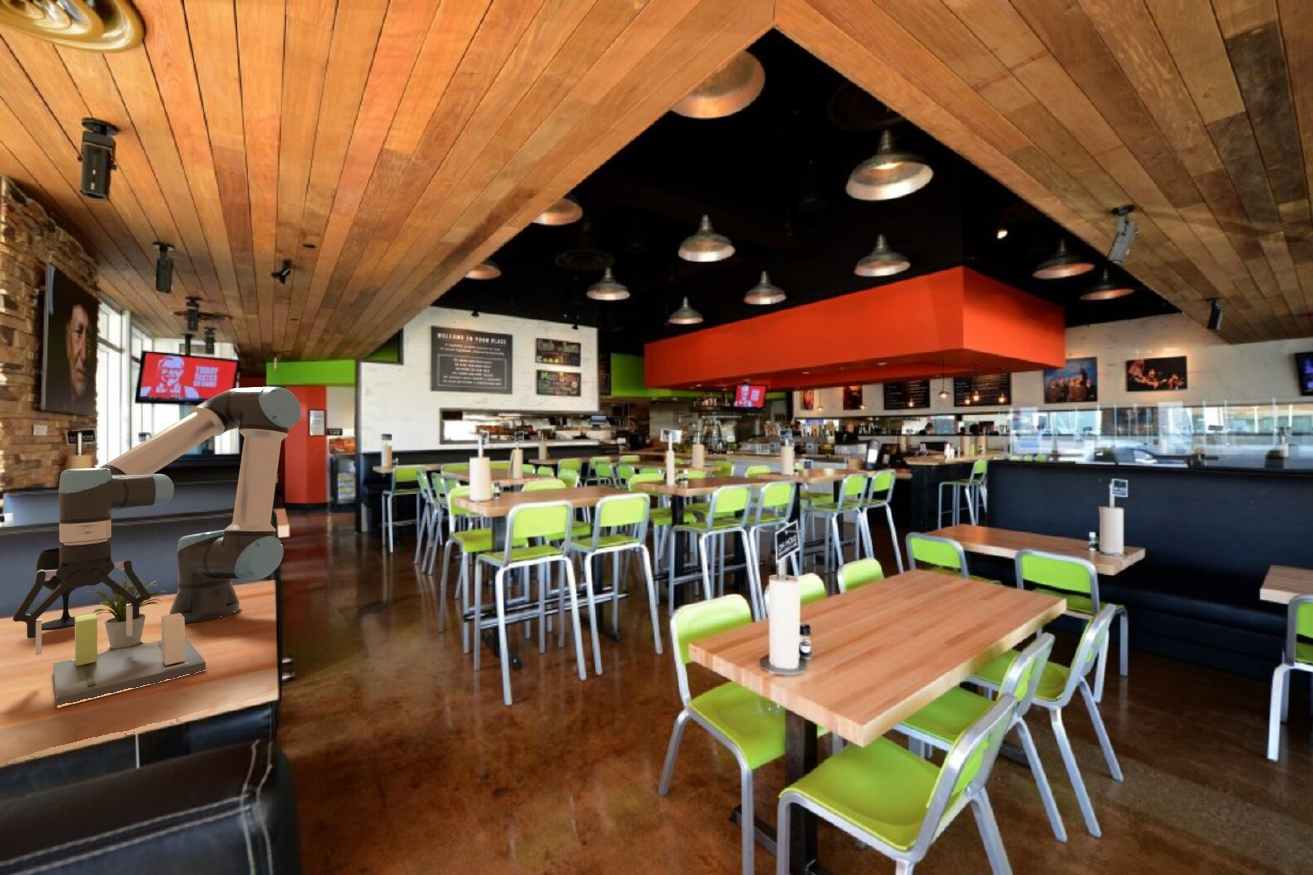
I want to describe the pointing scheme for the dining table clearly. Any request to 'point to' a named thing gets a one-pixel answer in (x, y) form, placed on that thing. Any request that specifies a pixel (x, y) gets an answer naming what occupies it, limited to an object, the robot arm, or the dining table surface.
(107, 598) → the house plant
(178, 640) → the fader cream
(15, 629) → the dining table surface
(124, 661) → the mixing board
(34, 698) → the dining table surface
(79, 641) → the fader lime
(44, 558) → the wine glass
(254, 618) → the dining table surface
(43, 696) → the dining table surface
